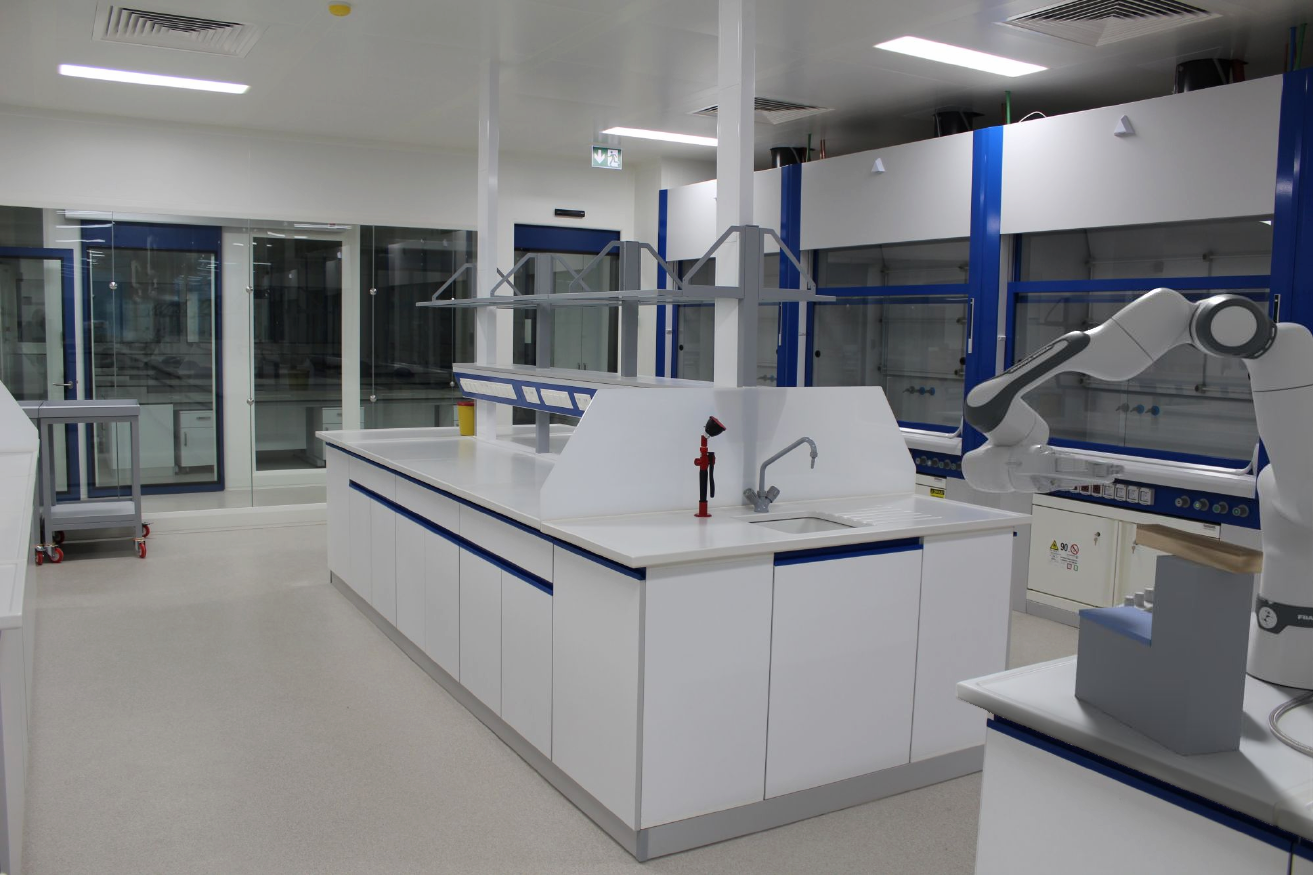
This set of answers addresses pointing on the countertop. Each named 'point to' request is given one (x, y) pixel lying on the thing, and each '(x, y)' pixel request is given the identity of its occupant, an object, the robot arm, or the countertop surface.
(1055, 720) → the countertop surface
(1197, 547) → the slide box
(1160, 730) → the l-shaped step block
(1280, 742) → the countertop surface
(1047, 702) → the countertop surface
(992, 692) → the countertop surface
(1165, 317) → the robot arm
